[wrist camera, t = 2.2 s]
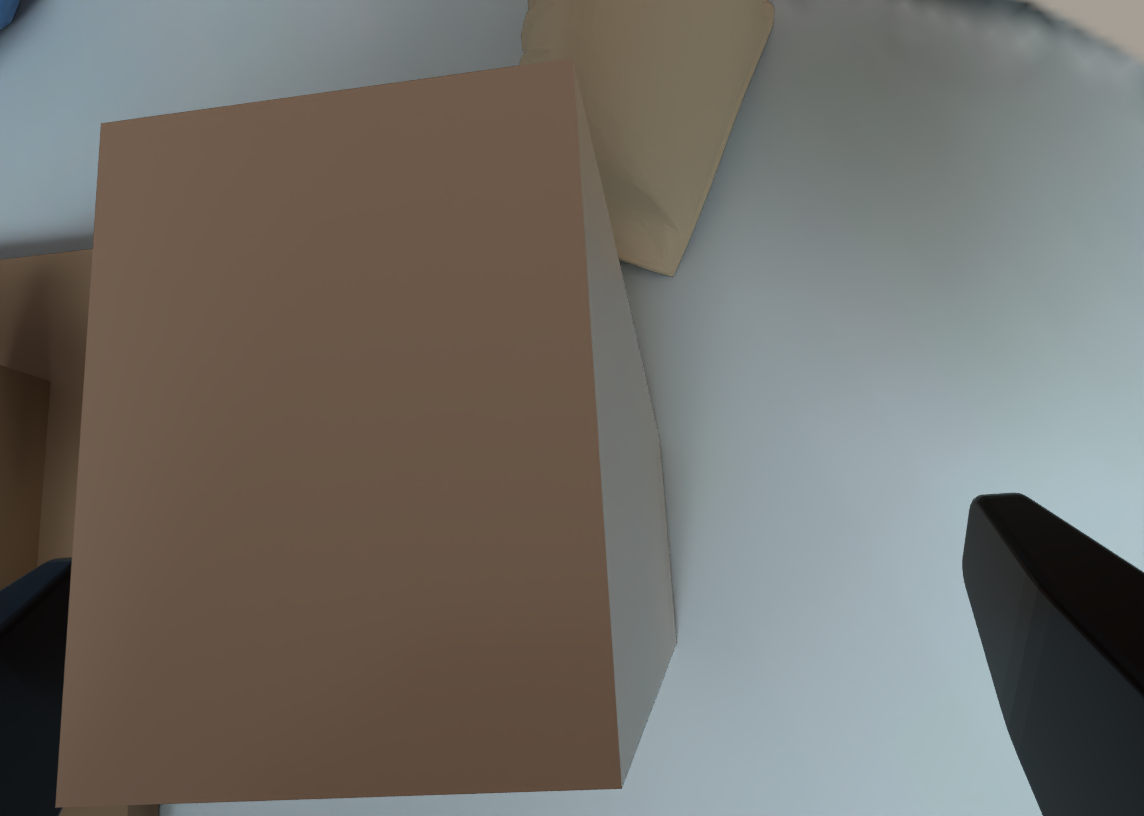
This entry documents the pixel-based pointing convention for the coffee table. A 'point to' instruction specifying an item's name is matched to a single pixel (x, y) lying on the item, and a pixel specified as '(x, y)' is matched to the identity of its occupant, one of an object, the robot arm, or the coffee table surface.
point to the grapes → (7, 11)
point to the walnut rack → (43, 420)
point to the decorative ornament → (654, 103)
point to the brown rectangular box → (362, 456)
